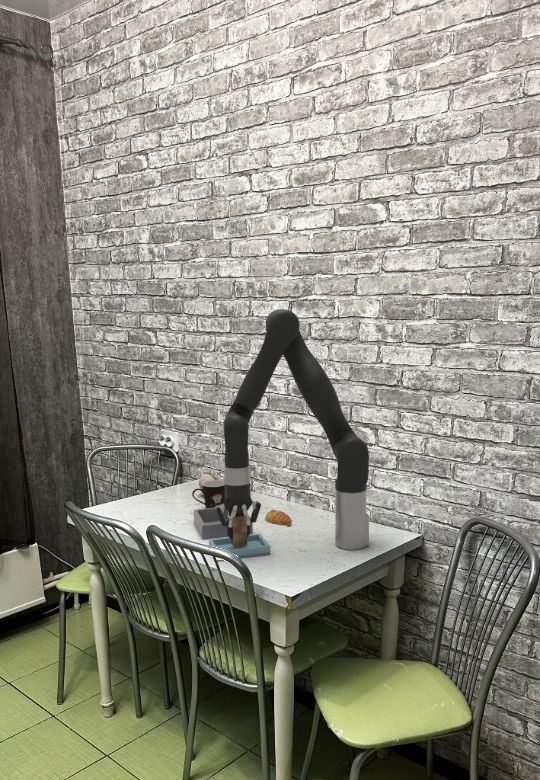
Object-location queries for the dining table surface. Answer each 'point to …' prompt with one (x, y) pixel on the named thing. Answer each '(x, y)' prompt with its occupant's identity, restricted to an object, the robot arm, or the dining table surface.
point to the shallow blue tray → (253, 548)
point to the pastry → (278, 518)
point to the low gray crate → (211, 523)
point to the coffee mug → (212, 493)
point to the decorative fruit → (208, 478)
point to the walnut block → (239, 531)
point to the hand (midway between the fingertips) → (239, 537)
